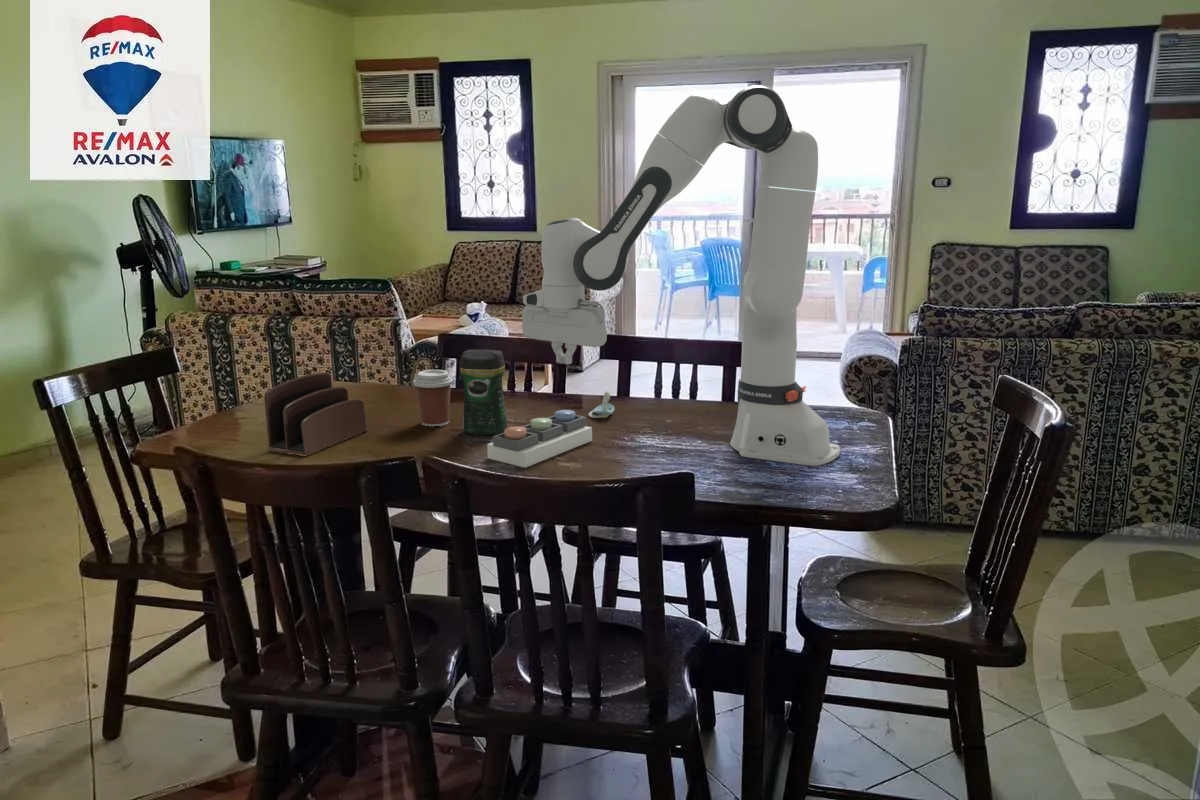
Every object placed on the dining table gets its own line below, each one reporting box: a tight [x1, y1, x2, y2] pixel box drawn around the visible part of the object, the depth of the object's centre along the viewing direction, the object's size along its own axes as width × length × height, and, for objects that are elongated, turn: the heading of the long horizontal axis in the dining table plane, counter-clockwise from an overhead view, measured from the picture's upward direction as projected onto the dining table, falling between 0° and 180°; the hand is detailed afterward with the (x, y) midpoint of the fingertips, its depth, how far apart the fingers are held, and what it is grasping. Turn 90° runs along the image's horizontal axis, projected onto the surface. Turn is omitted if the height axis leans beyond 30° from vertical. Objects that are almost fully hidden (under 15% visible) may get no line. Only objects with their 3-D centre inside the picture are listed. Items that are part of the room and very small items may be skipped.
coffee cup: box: [412, 369, 454, 428], centre depth 194 cm, size 9×9×12 cm
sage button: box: [529, 417, 552, 431], centre depth 174 cm, size 4×4×2 cm
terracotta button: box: [503, 426, 527, 440], centre depth 168 cm, size 4×4×2 cm
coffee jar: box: [459, 349, 508, 436], centre depth 187 cm, size 10×8×19 cm
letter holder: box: [263, 372, 368, 455], centre depth 180 cm, size 10×20×14 cm, turn 157°
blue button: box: [554, 409, 576, 422], centre depth 181 cm, size 4×4×2 cm
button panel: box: [487, 414, 593, 468], centre depth 175 cm, size 10×22×5 cm, turn 144°
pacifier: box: [587, 390, 616, 419], centre depth 201 cm, size 7×6×6 cm
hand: (564, 363), depth 178 cm, fingers closed
